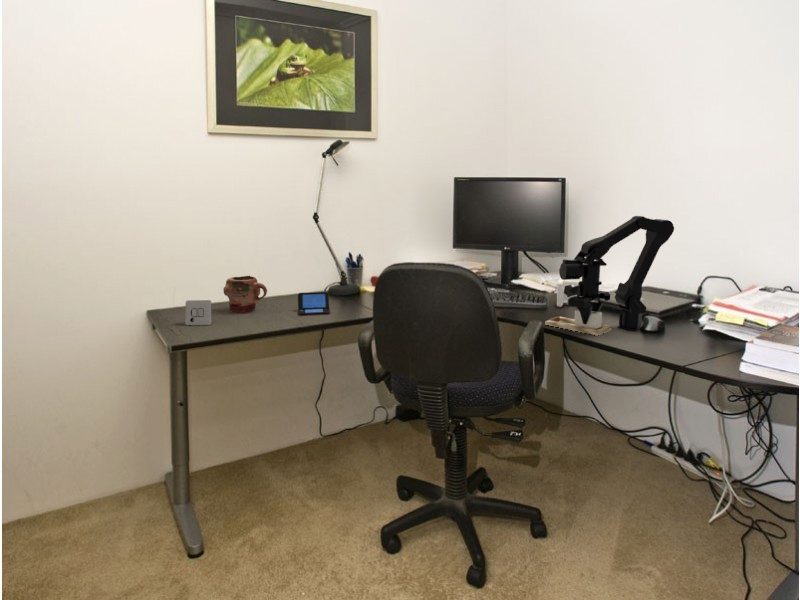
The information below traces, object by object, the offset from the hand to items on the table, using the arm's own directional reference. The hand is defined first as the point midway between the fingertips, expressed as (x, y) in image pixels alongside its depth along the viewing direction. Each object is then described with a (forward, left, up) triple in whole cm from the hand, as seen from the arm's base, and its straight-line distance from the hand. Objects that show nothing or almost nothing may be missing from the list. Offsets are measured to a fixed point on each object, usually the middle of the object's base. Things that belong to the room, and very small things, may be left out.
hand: (588, 322), depth 195 cm
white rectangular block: (0, 0, -1) cm, 1 cm away
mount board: (+4, 0, -2) cm, 5 cm away
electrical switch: (+106, +93, -3) cm, 141 cm away
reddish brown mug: (+113, +70, -3) cm, 133 cm away
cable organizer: (+25, -31, -3) cm, 40 cm away
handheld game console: (+91, +52, -3) cm, 105 cm away
